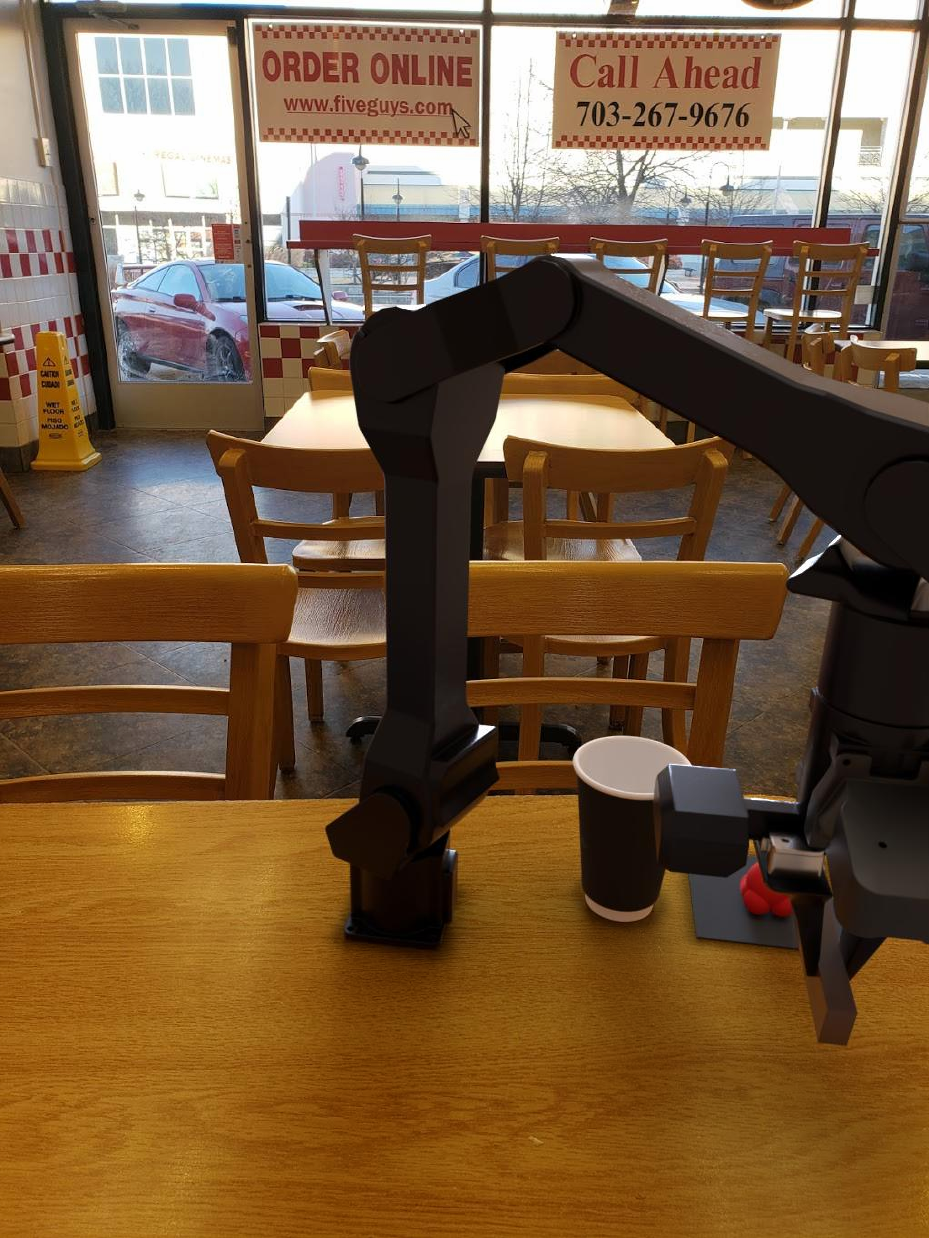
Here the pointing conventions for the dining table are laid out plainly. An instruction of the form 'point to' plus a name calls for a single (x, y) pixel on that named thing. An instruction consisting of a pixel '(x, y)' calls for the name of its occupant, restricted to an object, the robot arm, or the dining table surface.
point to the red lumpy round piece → (762, 895)
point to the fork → (830, 988)
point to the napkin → (738, 913)
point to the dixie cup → (620, 823)
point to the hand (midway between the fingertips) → (825, 973)
